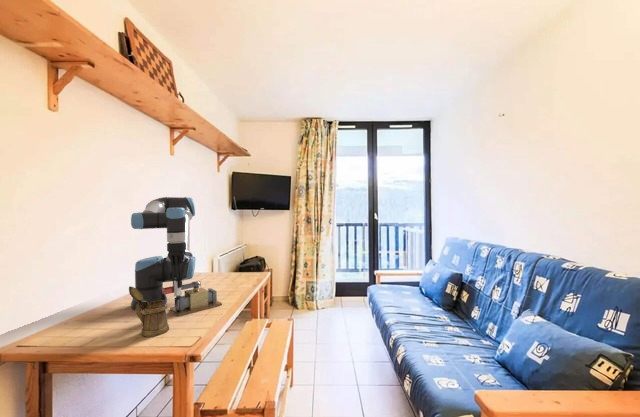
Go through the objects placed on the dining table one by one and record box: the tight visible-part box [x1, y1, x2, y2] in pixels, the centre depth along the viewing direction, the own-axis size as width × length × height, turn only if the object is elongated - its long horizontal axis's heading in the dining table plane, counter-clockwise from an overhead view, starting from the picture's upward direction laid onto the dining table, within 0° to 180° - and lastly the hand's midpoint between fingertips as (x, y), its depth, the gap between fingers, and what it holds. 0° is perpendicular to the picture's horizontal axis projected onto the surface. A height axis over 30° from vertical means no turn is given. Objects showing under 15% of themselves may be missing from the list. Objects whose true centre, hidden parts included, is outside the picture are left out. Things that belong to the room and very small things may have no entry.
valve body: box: [169, 286, 223, 317], centre depth 132 cm, size 12×20×10 cm, turn 134°
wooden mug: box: [128, 286, 170, 338], centre depth 106 cm, size 9×14×18 cm, turn 102°
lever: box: [162, 280, 202, 296], centre depth 128 cm, size 16×4×2 cm, turn 140°
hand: (177, 294), depth 123 cm, fingers closed
